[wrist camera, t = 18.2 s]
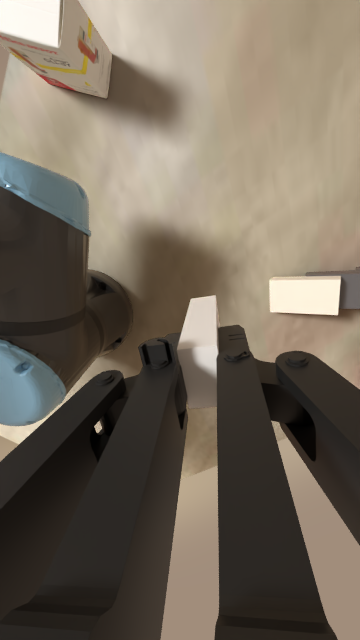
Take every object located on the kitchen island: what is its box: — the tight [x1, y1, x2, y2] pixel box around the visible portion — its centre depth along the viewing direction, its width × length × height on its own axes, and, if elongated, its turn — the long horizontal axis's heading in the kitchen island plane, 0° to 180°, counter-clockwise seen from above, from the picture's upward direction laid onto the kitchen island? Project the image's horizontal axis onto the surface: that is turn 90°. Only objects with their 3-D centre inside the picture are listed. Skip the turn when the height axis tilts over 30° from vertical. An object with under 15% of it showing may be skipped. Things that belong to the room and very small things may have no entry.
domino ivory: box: [270, 276, 341, 315], centre depth 38 cm, size 2×5×9 cm
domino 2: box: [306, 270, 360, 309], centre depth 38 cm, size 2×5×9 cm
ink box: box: [0, 0, 112, 98], centre depth 28 cm, size 9×5×12 cm, turn 75°
